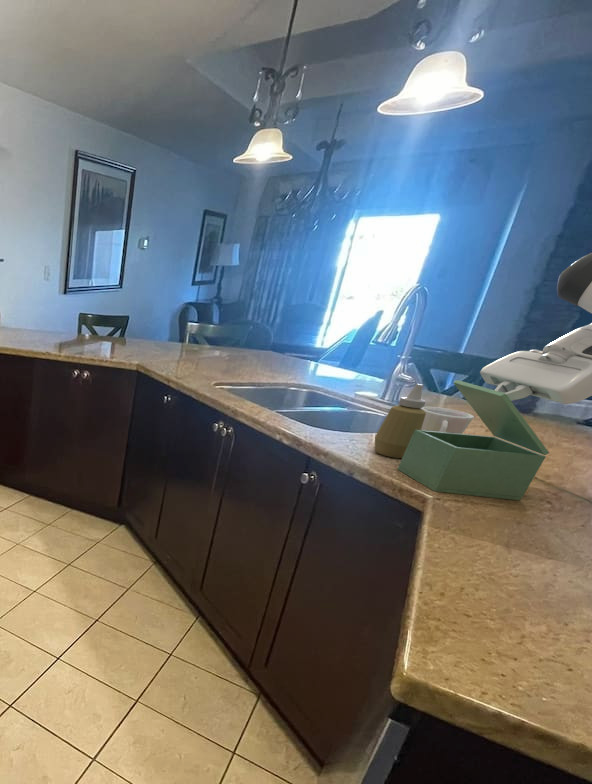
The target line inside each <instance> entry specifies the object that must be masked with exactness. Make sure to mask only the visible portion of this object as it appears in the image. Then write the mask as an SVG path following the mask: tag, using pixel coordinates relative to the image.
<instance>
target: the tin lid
mask: <svg viewBox="0 0 592 784" xmlns="http://www.w3.org/2000/svg"><path fill="white" fill-rule="evenodd" d="M453 384H454V386H455V387H456V388H457V389H458V391H459V392H460V394H461V395H462V396H463V398H464V399H465V400H466V401H467V403H468V404H469V405H470V407H471V408H472V409H473V410H474V412H475V413H476V415H477V416H478V417H479V419H480V420H481V421H482V423H483V424H484V425H485V426H486V428H487V429H488V430H489V432H490V433H491V434H492V436H493V437H496V438H499V439H502V440H504V441H507V442H510V443H512V444H515V445H517V446H520V447H523V448H525V449H528V450H530V451H533V452H536V453H538V454H541V455H544V456H546V455H548V454H550V451H549V450H548V449H547V447H546V446H545V445H544V443H543V442H542V441H541V439H540V438H539V437H538V435H537V434H536V432H534V430H533V429H532V427H531V425H529V423H528V422H527V421H526V419H525V418H524V417H523V415H522V414H521V412H520V411H519V410H518V409H517V407H516V406H515V404H514V403H513V401H511V400H510V399H509V398H508V396H507V395H506V394H505V393H502V392H498V391H495V389H491V388H487V387H484V386H480V385H476V384H473V383H469V382H465V381H462V380H458V379H456V380H454V381H453Z"/></svg>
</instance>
